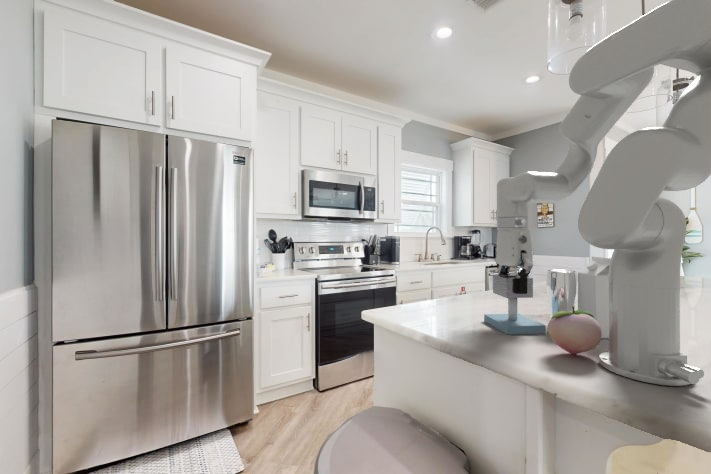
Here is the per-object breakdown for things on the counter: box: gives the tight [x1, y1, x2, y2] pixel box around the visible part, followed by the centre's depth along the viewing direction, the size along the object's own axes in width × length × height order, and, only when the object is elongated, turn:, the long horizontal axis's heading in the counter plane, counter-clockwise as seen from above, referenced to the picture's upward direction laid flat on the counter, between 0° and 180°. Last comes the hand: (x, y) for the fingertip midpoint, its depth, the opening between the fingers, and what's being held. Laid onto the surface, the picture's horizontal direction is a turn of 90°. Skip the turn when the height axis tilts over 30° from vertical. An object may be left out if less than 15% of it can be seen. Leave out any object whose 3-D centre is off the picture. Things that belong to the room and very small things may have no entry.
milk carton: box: [577, 256, 611, 339], centre depth 78 cm, size 7×7×19 cm
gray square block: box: [492, 274, 534, 299], centre depth 85 cm, size 7×7×5 cm
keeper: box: [483, 298, 547, 335], centre depth 84 cm, size 12×10×8 cm
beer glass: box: [546, 269, 578, 322], centre depth 84 cm, size 7×7×15 cm
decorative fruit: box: [547, 306, 602, 356], centre depth 64 cm, size 9×8×10 cm
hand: (512, 290), depth 85 cm, fingers closed on gray square block, 7 cm apart
